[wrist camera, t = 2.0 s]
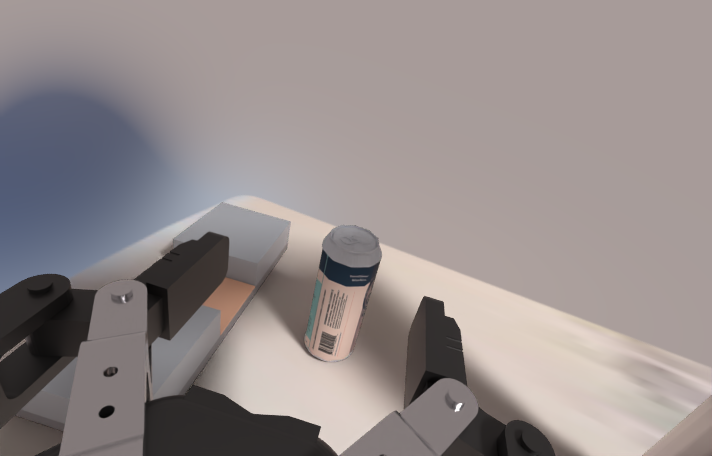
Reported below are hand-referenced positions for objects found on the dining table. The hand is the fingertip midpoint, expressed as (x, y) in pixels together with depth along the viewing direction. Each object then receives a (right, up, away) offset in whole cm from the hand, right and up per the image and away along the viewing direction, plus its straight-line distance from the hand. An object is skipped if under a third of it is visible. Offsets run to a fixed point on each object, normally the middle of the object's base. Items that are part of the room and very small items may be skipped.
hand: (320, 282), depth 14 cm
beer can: (-1, -9, +19) cm, 21 cm away
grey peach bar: (-14, -5, +20) cm, 25 cm away
